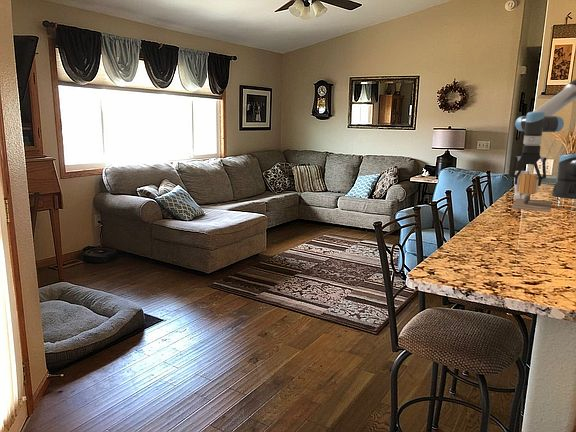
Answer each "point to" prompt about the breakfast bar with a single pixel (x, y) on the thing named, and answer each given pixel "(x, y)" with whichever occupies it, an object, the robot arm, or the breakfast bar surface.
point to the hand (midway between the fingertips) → (526, 191)
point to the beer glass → (516, 195)
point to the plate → (532, 205)
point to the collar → (527, 183)
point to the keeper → (548, 180)
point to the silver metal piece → (526, 198)
